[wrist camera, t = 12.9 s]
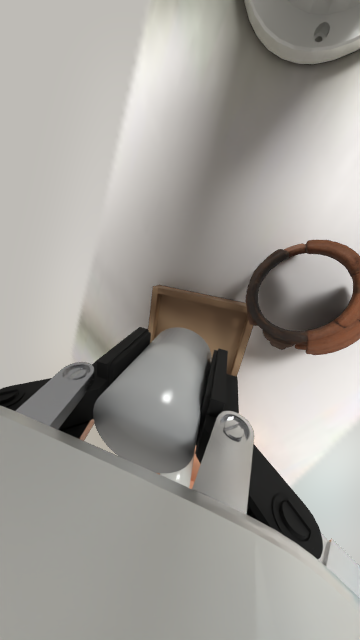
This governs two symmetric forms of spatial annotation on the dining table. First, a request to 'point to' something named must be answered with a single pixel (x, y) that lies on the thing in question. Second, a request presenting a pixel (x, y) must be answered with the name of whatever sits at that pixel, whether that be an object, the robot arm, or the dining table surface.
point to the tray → (203, 320)
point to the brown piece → (323, 340)
